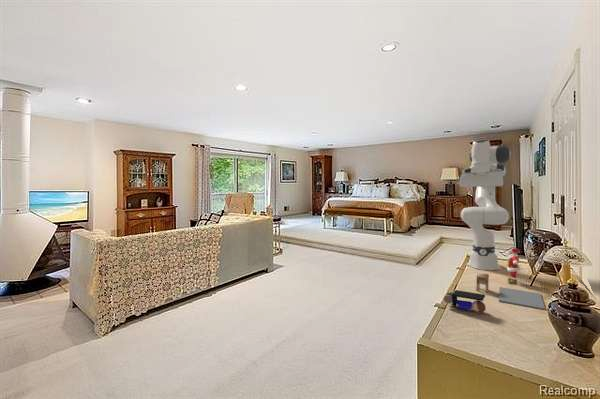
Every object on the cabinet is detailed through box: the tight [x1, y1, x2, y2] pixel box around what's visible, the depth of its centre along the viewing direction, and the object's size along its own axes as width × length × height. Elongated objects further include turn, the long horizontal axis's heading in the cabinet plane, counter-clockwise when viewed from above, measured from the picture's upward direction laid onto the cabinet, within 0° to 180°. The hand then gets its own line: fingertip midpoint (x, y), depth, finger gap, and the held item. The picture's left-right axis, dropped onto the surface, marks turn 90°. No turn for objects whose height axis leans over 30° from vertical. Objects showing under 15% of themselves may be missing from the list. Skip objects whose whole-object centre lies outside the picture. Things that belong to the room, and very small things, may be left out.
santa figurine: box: [506, 247, 521, 285], centre depth 152 cm, size 25×6×19 cm, turn 144°
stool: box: [476, 271, 490, 294], centre depth 142 cm, size 5×5×8 cm
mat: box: [498, 286, 546, 311], centre depth 132 cm, size 20×16×1 cm
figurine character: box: [443, 289, 486, 314], centre depth 122 cm, size 7×8×15 cm
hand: (480, 194), depth 154 cm, fingers open, 8 cm apart
